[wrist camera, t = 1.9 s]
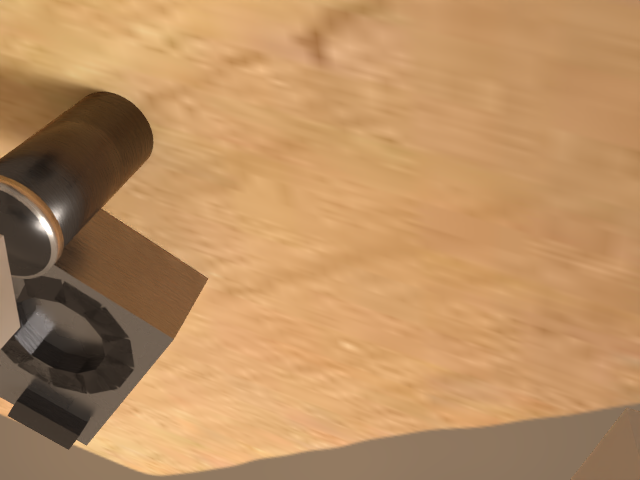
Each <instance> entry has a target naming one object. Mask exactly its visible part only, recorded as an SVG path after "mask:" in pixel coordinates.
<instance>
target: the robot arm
mask: <svg viewBox="0 0 640 480" xmlns="http://www.w3.org/2000/svg"><path fill="white" fill-rule="evenodd" d="M19 328H20V322H19V316H18V311H17V306H16V300H15V295H14V289H13V284H12V278H11V273H10V267H9V262H8V257H7V251H6V246H5V240H4V235H1V234H0V349H1V348H2V347H3V346H4V345H5V344H6V342H7V341H8V340H9V339H10V338H11V337H12V336H13V335H14V333H15V332H16V331H17V330H18V329H19ZM571 480H640V411H636V410H633V409H629V408H626V409H625V411H624V412H623V413H622V414H621V416H620V417H619V418H618V420H617V421H616V422H615V423H614V424H613V426H612V427H611V428H610V430H609V431H608V432H607V433H606V435H605V436H604V437H603V439H602V440H601V441H600V443H599V444H598V445H597V446H596V448H595V449H594V450H593V451H592V453H591V454H590V455H589V457H588V458H587V459H586V461H585V462H584V463H583V464H582V466H581V467H580V468H579V469H578V471H577V472H576V474H574V476H573V477H572V478H571Z"/></svg>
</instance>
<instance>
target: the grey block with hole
mask: <svg viewBox="0 0 640 480" xmlns="http://www.w3.org/2000/svg"><path fill="white" fill-rule="evenodd" d="M11 278H12V284H13V289H14V295H15V300H16V306H17V311H18V316H19V322H20V328H19V329H18V330H17V331H16V332H15V333H14V335H13V336H12V337H11V338H10V339H9V340H8V341H7V342H6V344H5V345H4V346H3V347H2V348H1V349H0V397H1V398H3V399H5V400H7V401H8V402H10V403H12V404H14V406H13V408H12V409H11V411H10V413H9V414H8V416H9V417H11V418H13V419H14V420H16V421H18V422H20V423H22V424H24V425H25V426H27V427H29V428H31V429H33V430H34V431H36V432H38V433H40V434H41V435H43V436H45V437H47V438H49V439H50V440H52V441H54V442H56V443H58V444H60V445H61V446H63V447H65V448H67V449H69V448H70V447H71V446H72V445H73V443H74V442H75V441H76V440H78V441H80V442H81V443H83V444H85V445H87V444H88V443H89V442H90V441H91V439H92V438H93V437H94V436H95V435H96V433H97V432H98V431H99V430H100V428H101V427H102V426H103V425H104V424H105V422H106V421H107V420H108V419H109V418H110V416H111V415H112V414H113V413H114V411H115V410H116V409H117V408H118V407H119V405H120V404H121V403H122V402H123V400H124V399H125V398H126V397H127V396H128V394H129V393H130V392H131V391H132V390H133V388H134V387H135V386H136V385H137V383H138V382H139V381H140V380H141V379H142V377H143V376H144V375H145V374H146V372H147V371H148V370H149V369H150V368H151V366H152V365H153V364H154V363H155V362H156V360H157V359H158V358H159V357H160V355H161V354H162V353H163V352H164V351H165V349H166V348H167V347H168V346H169V345H170V343H171V342H172V341H173V340H174V338H175V336H176V335H177V333H178V331H179V329H180V328H181V326H182V324H183V322H184V321H185V319H186V317H187V315H188V314H189V312H190V310H191V308H192V306H193V305H194V303H195V301H196V299H197V298H198V296H199V294H200V292H201V291H202V289H203V287H204V285H205V284H206V282H207V280H208V278H206V277H205V276H203V275H202V274H200V273H199V272H197V271H195V270H194V269H192V268H191V267H189V266H188V265H186V264H185V263H183V262H182V261H180V260H179V259H177V258H176V257H174V256H172V255H171V254H169V253H168V252H166V251H165V250H163V249H162V248H160V247H159V246H157V245H156V244H154V243H153V242H151V241H149V240H148V239H146V238H145V237H143V236H142V235H140V234H139V233H137V232H136V231H134V230H133V229H131V228H130V227H128V226H126V225H125V224H123V223H122V222H120V221H119V220H117V219H116V218H114V217H113V216H111V215H110V214H108V213H107V212H105V211H103V210H102V209H100V210H99V211H98V212H97V213H96V214H95V215H94V216H93V217H92V219H91V220H90V221H89V222H88V223H87V224H86V225H85V226H84V227H83V228H82V229H81V230H80V231H79V232H78V233H77V234H76V235H75V236H74V238H73V239H72V240H71V241H70V242H69V243H68V244H67V245H66V246H65V247H64V248H63V252H62V254H61V257H60V258H59V260H58V261H57V262H56V263H55V264H54V265H53V266H52V267H51V268H50V269H49V270H48V271H47V272H46V273H45V274H43V275H41V276H39V277H36V278H31V279H19V278H13V277H11Z"/></svg>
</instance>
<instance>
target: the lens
mask: <svg viewBox="0 0 640 480" xmlns="http://www.w3.org/2000/svg"><path fill="white" fill-rule="evenodd" d="M152 149H153V135H152V131H151V128H150V125H149V123H148V121H147V119H146V118H145V116H144V115H143V114H142V112H141V111H140V110H139V109H138V108H137V107H136V106H135V105H134V104H132V103H131V102H130V101H128V100H127V99H125V98H123V97H121V96H119V95H116V94H113V93H108V92H97V93H93V94H90V95H88V96H86V97H85V98H84V99H82V100H81V101H79V102H78V103H77V104H75V105H74V106H73V107H71V108H70V109H68V110H67V111H66V112H64V113H63V114H62V115H60V116H59V117H57V118H56V119H55V120H53V121H52V122H51V123H49V124H48V125H46V126H45V127H44V128H42V129H41V130H39V131H38V132H37V133H35V134H34V135H33V136H31V137H30V138H28V139H27V140H26V141H24V142H23V143H22V144H20V145H19V146H17V147H16V148H15V149H13V150H12V151H11V152H9V153H8V154H6V155H5V156H4V157H2V158H1V159H0V234H1V235H4V240H5V246H6V251H7V257H8V262H9V267H10V273H11V277H13V278H19V279H31V278H36V277H39V276H41V275H43V274H45V273H46V272H47V271H48V270H49V269H50V268H51V267H52V266H53V265H54V264H55V263H56V262H57V261H58V260H59V258H60V257H61V254H62V252H63V248H64V247H65V246H66V245H67V244H68V243H69V242H70V241H71V240H72V239H73V238H74V236H75V235H76V234H77V233H78V232H79V231H80V230H81V229H82V228H83V227H84V226H85V225H86V224H87V223H88V222H89V221H90V220H91V219H92V217H93V216H94V215H95V214H96V213H97V212H98V211H99V210H100V209H101V208H102V207H103V206H104V205H105V204H106V203H107V202H108V201H109V199H110V198H111V197H112V196H113V195H114V194H115V193H116V192H117V191H118V190H119V189H120V188H121V187H122V186H123V185H124V184H125V183H126V181H127V180H128V179H129V178H130V177H131V176H132V175H133V174H134V173H135V172H136V171H137V170H138V169H139V168H140V167H141V166H142V165H143V164H144V162H145V161H146V160H147V159H148V158H149V156H150V154H151V152H152Z"/></svg>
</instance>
